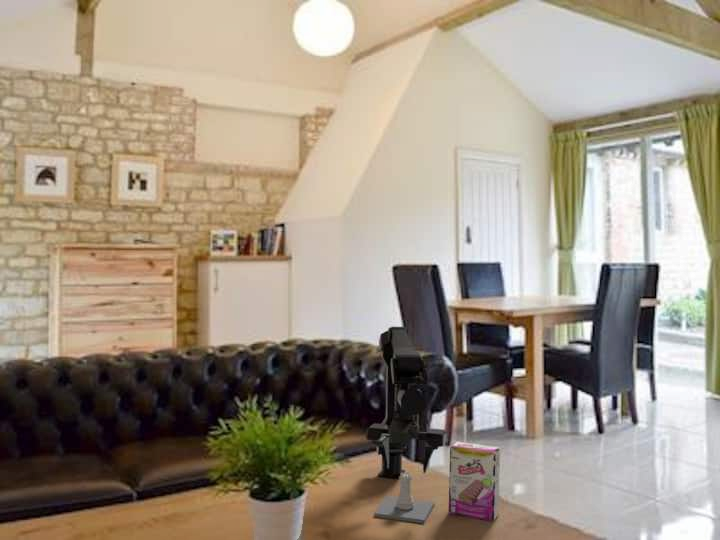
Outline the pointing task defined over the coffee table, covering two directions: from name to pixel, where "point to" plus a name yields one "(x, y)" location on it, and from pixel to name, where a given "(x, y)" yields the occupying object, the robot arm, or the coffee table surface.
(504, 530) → the coffee table surface
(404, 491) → the rook chess piece
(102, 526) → the coffee table surface
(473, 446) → the candy bar box
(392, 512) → the gray mat
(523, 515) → the coffee table surface
